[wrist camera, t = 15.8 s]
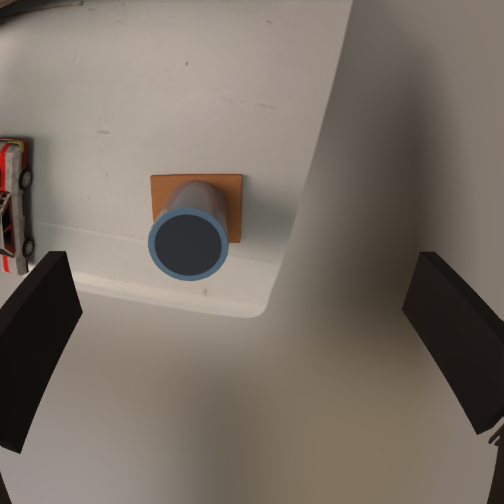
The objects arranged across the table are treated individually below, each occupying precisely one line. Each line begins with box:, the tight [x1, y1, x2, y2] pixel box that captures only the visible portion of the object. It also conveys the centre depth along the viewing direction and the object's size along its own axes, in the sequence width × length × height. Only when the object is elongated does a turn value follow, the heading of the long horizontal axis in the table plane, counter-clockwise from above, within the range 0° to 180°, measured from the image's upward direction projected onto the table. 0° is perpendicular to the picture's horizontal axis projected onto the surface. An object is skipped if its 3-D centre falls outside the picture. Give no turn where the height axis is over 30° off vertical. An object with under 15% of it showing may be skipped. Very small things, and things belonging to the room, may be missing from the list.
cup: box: [148, 180, 229, 281], centre depth 31 cm, size 7×7×9 cm
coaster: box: [150, 174, 242, 243], centre depth 35 cm, size 10×8×1 cm
